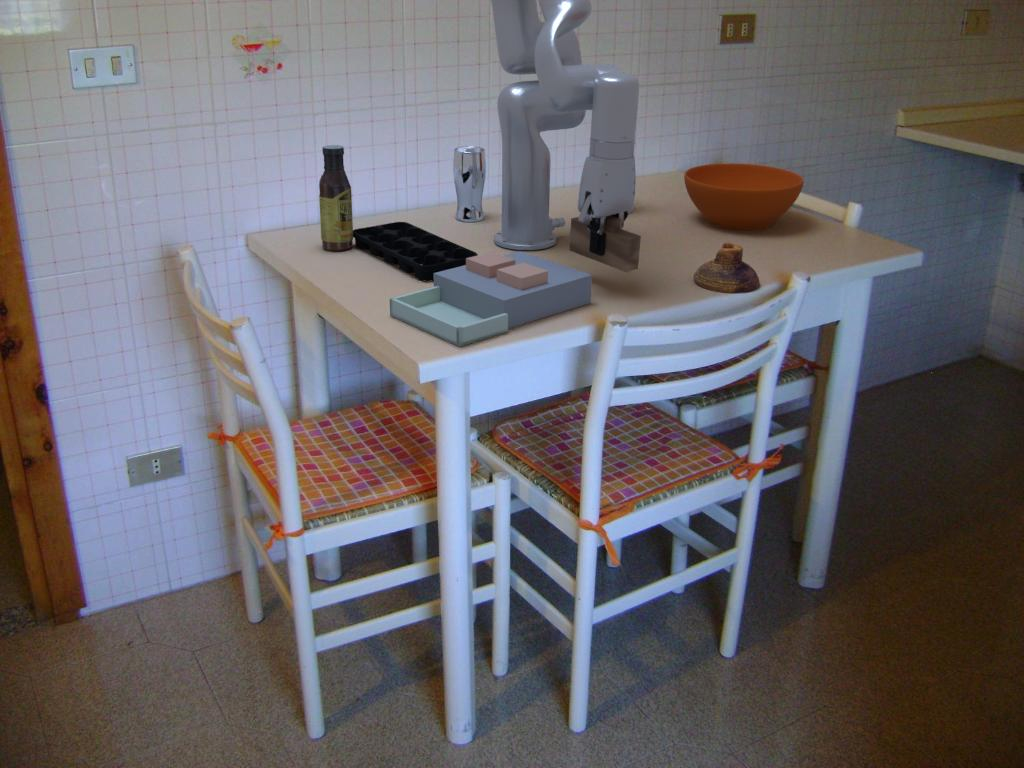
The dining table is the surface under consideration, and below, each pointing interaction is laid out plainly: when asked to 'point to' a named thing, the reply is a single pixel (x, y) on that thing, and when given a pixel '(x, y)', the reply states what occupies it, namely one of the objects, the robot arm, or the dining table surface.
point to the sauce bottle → (335, 201)
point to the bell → (727, 272)
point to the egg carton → (412, 248)
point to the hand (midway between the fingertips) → (604, 250)
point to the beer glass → (469, 182)
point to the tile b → (522, 276)
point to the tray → (445, 318)
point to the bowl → (742, 194)
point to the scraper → (608, 244)
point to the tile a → (488, 264)
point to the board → (515, 291)
